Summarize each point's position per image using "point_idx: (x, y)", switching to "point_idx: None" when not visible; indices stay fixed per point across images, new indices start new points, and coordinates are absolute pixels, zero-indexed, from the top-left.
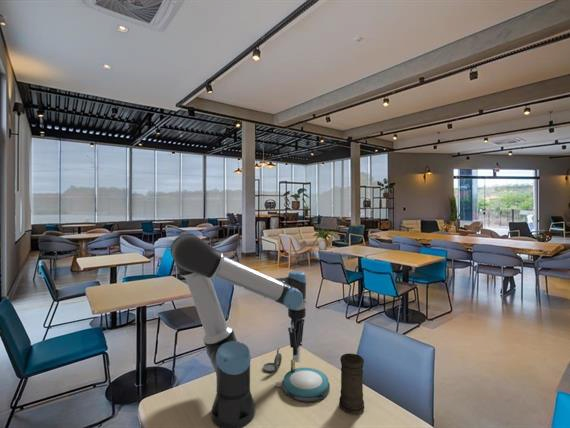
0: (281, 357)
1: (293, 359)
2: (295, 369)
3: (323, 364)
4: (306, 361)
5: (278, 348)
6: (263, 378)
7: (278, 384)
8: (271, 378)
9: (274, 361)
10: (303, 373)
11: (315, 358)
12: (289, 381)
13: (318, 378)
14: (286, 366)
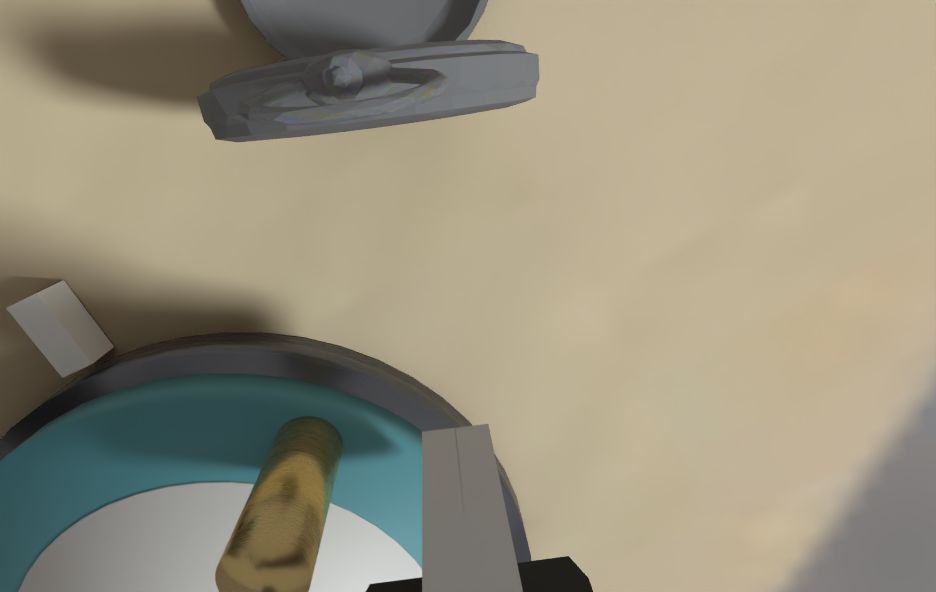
0: (518, 103)
1: (424, 468)
2: (374, 452)
3: (798, 524)
4: (799, 335)
5: (339, 110)
6: (54, 14)
7: (42, 336)
8: (145, 133)
9: (199, 102)
10: (339, 585)
11: (910, 396)
12: (45, 533)
13: None
14: (557, 158)
